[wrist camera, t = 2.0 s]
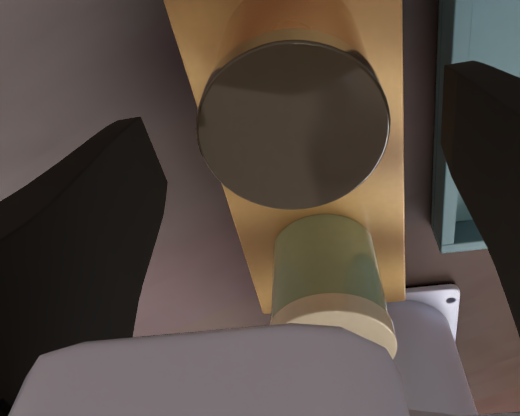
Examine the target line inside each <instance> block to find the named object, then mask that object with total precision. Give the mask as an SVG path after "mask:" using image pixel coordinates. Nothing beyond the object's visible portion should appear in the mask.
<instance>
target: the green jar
mask: <svg viewBox="0 0 520 416" xmlns="http://www.w3.org/2000/svg"><path fill="white" fill-rule="evenodd" d="M287 323H299V324H313V325H327V326H340V327H342V328H344V329H347V330H349V331H351V332H353V333H355V334H357V335H360V336H362V337H364V338H366V339H368V340H370V341H373V342H375V343H377V344H379V345H381V346H383V347H385V348H386V349H387V350H388V352H389V354H390V356H391V357H392V359H394V357H395V355H396V352H397V346H398V344H397V338H396V333H395V328H394V324H393V321H392V319H391V317H390V315H389V314H388V309H387V304H386V299H385V294H384V289H383V284H382V280H381V275H380V270H379V265H378V260H377V255H376V250H375V245H374V241H373V238H372V236H371V235H370V233H369V232H368V231H367V229H366V228H365V227H363V226H362V225H361V224H360V223H358V222H357V221H355V220H353V219H350V218H348V217H345V216H340V215H334V214H317V215H311V216H307V217H304V218H301V219H299V220H296V221H295V222H293V223H291V224H290V225H288V226H287V227H286V228H285V229H283V230H282V231H281V233H280V234H279V235H278V237H277V239H276V241H275V243H274V247H273V272H272V307H271V322H270V324H269V325H276V324H287Z"/></svg>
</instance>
